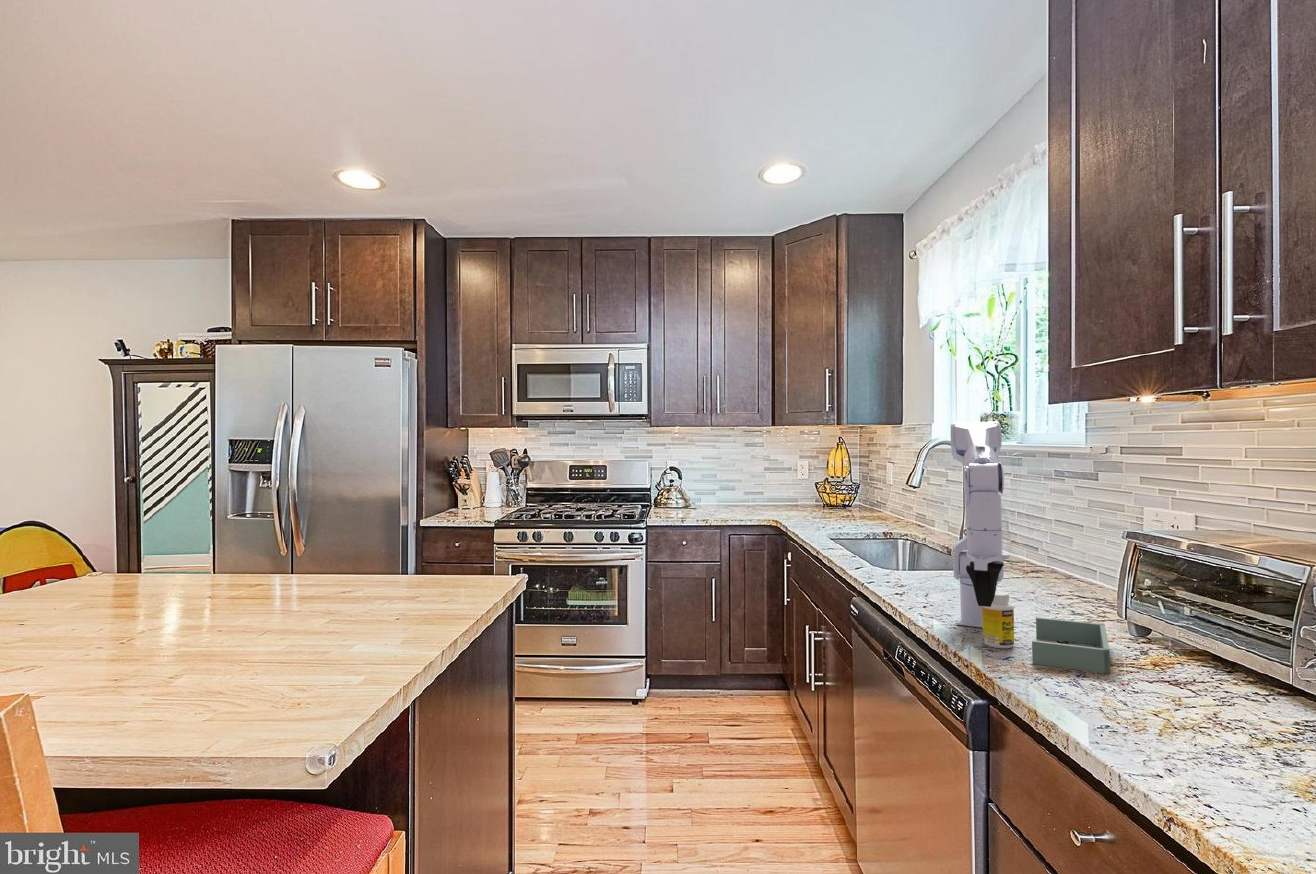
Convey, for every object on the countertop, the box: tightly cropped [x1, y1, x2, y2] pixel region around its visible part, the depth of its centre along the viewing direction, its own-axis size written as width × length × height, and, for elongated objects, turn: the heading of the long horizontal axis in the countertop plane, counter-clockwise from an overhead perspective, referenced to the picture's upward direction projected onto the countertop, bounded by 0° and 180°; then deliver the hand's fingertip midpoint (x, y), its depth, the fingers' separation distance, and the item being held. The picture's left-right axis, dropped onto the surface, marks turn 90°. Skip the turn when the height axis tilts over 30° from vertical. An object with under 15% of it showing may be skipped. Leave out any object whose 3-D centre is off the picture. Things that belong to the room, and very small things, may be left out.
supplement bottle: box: [981, 590, 1015, 649], centre depth 133 cm, size 6×6×10 cm
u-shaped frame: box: [1031, 616, 1111, 675], centre depth 127 cm, size 19×12×4 cm, turn 149°
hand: (985, 603), depth 124 cm, fingers open, 4 cm apart
